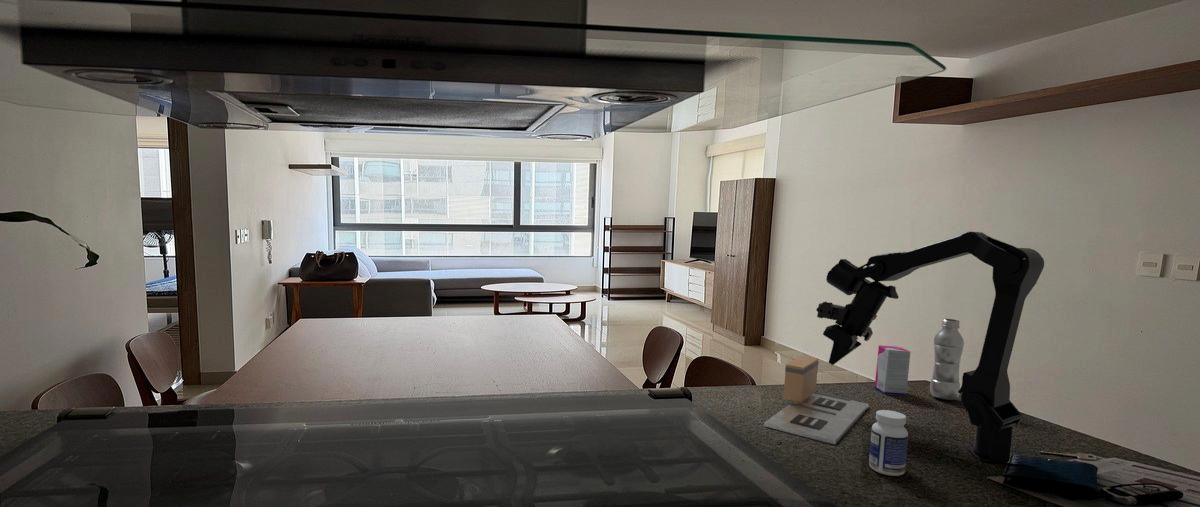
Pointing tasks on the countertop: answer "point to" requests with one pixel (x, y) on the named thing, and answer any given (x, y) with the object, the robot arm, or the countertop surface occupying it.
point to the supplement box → (892, 370)
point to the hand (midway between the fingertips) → (830, 363)
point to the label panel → (818, 417)
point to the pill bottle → (889, 443)
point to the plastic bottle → (947, 361)
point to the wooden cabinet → (800, 378)
